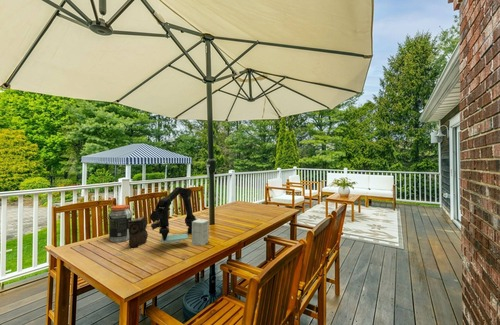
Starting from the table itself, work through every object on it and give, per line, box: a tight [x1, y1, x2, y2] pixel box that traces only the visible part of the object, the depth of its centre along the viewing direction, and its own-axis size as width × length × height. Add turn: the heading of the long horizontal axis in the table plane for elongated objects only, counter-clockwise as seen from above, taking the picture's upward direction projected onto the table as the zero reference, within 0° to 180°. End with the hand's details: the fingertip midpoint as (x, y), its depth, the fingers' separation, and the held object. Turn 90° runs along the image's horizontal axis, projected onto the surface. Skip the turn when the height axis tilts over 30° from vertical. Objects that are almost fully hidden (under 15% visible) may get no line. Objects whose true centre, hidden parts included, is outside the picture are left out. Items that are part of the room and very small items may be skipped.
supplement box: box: [191, 218, 210, 246], centre depth 174 cm, size 10×9×17 cm
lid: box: [161, 233, 189, 242], centre depth 167 cm, size 18×9×5 cm, turn 110°
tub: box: [161, 233, 182, 245], centre depth 178 cm, size 14×9×4 cm, turn 110°
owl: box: [128, 216, 149, 249], centre depth 170 cm, size 13×13×20 cm
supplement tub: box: [108, 204, 133, 243], centre depth 184 cm, size 16×16×26 cm
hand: (164, 239), depth 165 cm, fingers closed on lid, 4 cm apart
